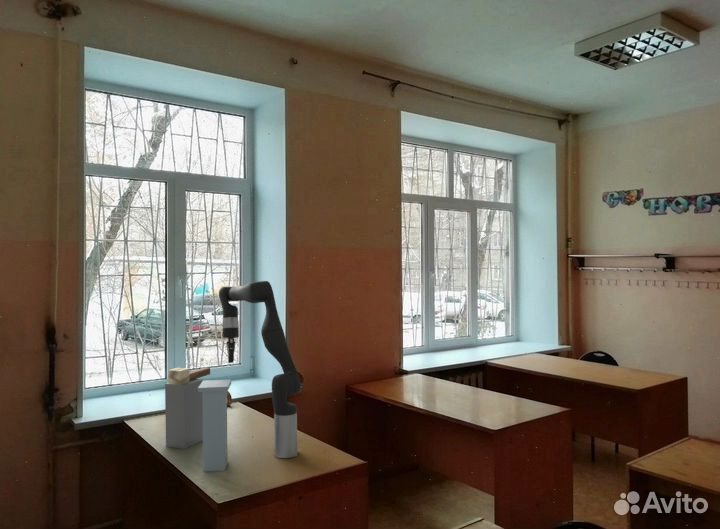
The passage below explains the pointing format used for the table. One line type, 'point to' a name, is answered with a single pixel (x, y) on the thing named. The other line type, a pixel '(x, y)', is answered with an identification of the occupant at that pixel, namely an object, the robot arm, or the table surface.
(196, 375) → the brown wooden bar
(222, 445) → the tall plinth
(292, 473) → the table surface
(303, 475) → the table surface
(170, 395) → the grey tall block
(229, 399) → the tin
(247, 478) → the table surface
